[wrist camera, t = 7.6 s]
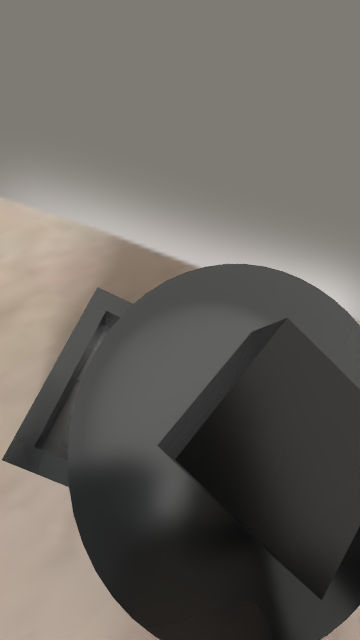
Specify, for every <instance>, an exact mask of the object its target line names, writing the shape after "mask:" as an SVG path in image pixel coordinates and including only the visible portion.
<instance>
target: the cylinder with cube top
mask: <svg viewBox="0 0 360 640" xmlns="http://www.w3.org/2000/svg"><path fill="white" fill-rule="evenodd" d="M68 480H69V489H70V495H71V501H72V507H73V513H74V517H75V520H76V523H77V527H78V530H79V533H80V536H81V539H82V543H83V545H84V547H85V549H86V552H87V554H88V556H89V558H90V560H91V562H92V564H93V566H94V568H95V571H96V572H97V574H98V575H99V577H100V578H101V580H102V581H103V583H104V584H105V586H106V587H107V589H108V590H109V592H110V593H111V595H112V596H113V598H114V599H115V600H116V601H117V602H118V603H119V604H120V605H121V606H122V608H123V609H124V610H125V611H126V612H127V613H128V614H129V615H130V616H131V617H132V619H134V620H135V621H136V622H137V623H139V624H140V625H141V626H142V627H144V628H145V629H146V630H148V631H149V632H150V633H151V634H153V635H154V636H155V637H157V638H159V639H160V640H320V639H322V638H323V637H325V636H327V635H328V634H329V633H330V632H332V631H333V630H334V629H335V628H337V627H338V626H339V625H340V624H342V623H343V622H344V621H345V620H346V619H347V618H348V617H349V616H350V615H351V614H352V613H353V612H354V611H355V610H356V609H357V607H358V606H359V605H360V325H359V324H358V323H357V322H356V321H355V320H354V319H353V318H352V316H351V315H350V314H349V313H348V312H347V311H346V310H345V309H343V308H342V307H341V306H340V305H339V304H338V303H337V302H336V301H335V300H333V299H332V298H331V297H329V296H328V295H326V294H325V293H324V292H322V291H321V290H319V289H318V288H316V287H315V286H313V285H311V284H309V283H307V282H306V281H304V280H302V279H300V278H297V277H295V276H293V275H290V274H288V273H285V272H283V271H279V270H275V269H271V268H267V267H263V266H255V265H248V264H223V265H216V266H209V267H204V268H200V269H197V270H193V271H190V272H186V273H184V274H181V275H179V276H177V277H175V278H172V279H170V280H168V281H166V282H164V283H163V284H161V285H159V286H158V287H156V288H154V289H153V290H151V291H150V292H148V293H147V294H145V295H144V296H143V297H142V298H141V299H139V300H138V301H137V302H136V303H135V304H133V305H132V306H131V307H130V308H129V309H128V310H127V311H126V312H125V313H124V314H123V315H122V316H121V317H120V319H119V320H118V321H117V322H116V323H115V324H114V325H113V326H112V328H111V329H110V331H109V332H108V334H107V335H106V336H105V338H104V339H103V341H102V342H101V344H100V345H99V346H98V348H97V350H96V352H95V354H94V356H93V358H92V360H91V362H90V364H89V366H88V367H87V369H86V372H85V375H84V377H83V380H82V383H81V386H80V388H79V391H78V394H77V397H76V401H75V406H74V410H73V415H72V419H71V423H70V433H69V444H68Z"/></svg>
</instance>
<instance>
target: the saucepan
mask: <svg viewBox="0 0 360 640" xmlns="http://www.w3.org/2000/svg"><path fill="white" fill-rule="evenodd" d="M132 305H133V304H131V303H129V302H127V301H125V300H123V299H121V298H119V297H117V296H115V295H113V294H111V293H109V292H107V291H104V290H102V289H100V288H97V289H96V291H95V293H94V295H93V297H92V298H91V300H90V302H89V304H88V306H87V307H86V309H85V311H84V313H83V315H82V316H81V318H80V320H79V322H78V324H77V325H76V327H75V329H74V331H73V333H72V334H71V336H70V338H69V340H68V342H67V343H66V345H65V347H64V349H63V351H62V352H61V354H60V356H59V358H58V360H57V362H56V363H55V365H54V367H53V369H52V371H51V372H50V374H49V376H48V378H47V380H46V381H45V383H44V385H43V387H42V389H41V390H40V392H39V394H38V396H37V398H36V399H35V401H34V403H33V405H32V407H31V408H30V410H29V412H28V414H27V416H26V417H25V419H24V421H23V423H22V425H21V426H20V428H19V430H18V432H17V434H16V435H15V437H14V439H13V441H12V443H11V444H10V446H9V448H8V450H7V452H6V453H5V455H4V457H3V459H2V460H3V461H6V462H8V463H11V464H13V465H16V466H18V467H20V468H23V469H25V470H28V471H30V472H33V473H35V474H38V475H40V476H43V477H45V478H48V479H50V480H53V481H55V482H58V483H60V484H63V485H65V486H68V487H69V480H68V444H69V433H70V423H71V419H72V415H73V410H74V406H75V401H76V397H77V394H78V391H79V388H80V386H81V383H82V380H83V377H84V375H85V372H86V369H87V367H88V366H89V364H90V362H91V360H92V358H93V356H94V354H95V352H96V350H97V348H98V346H99V345H100V344H101V342H102V341H103V339H104V338H105V336H106V335H107V334H108V332H109V331H110V329H111V328H112V326H113V325H114V324H115V323H116V322H117V321H118V320H119V319H120V317H121V316H122V315H123V314H124V313H125V312H126V311H127V310H128V309H129V308H130V307H131V306H132Z"/></svg>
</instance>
